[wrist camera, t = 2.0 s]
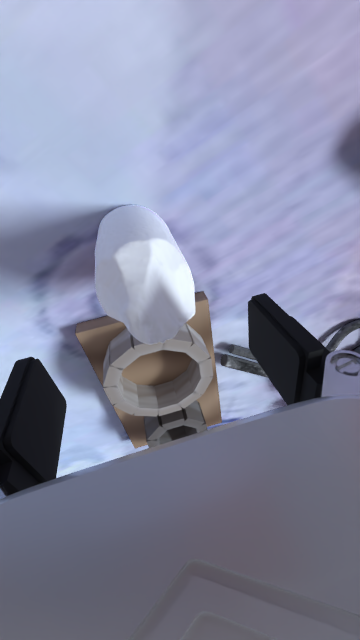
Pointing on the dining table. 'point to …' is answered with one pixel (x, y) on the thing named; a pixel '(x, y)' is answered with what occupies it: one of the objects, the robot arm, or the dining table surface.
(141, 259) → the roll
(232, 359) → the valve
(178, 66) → the dining table surface
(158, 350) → the fitting board
